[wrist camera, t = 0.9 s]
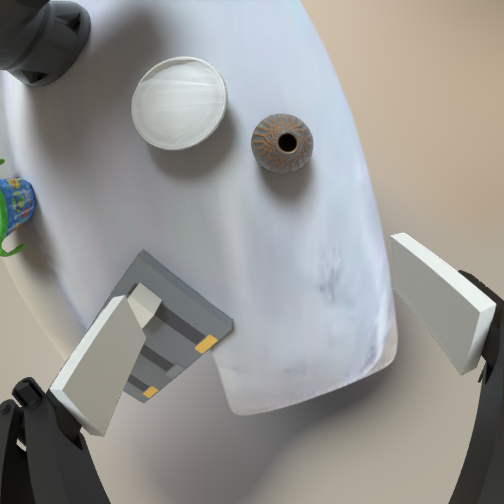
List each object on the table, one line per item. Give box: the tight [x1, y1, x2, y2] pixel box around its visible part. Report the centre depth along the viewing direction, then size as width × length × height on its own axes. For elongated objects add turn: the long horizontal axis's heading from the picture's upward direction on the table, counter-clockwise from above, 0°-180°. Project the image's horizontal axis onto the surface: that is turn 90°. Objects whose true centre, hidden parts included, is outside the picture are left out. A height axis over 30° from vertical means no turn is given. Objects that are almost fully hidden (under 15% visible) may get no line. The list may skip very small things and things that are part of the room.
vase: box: [251, 114, 313, 174], centre depth 29 cm, size 7×7×9 cm
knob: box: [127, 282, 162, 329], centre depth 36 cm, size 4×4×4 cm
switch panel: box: [87, 249, 233, 403], centre depth 43 cm, size 17×28×3 cm, turn 138°
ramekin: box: [131, 56, 228, 150], centre depth 29 cm, size 11×11×5 cm
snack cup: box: [0, 159, 35, 257], centre depth 30 cm, size 16×10×10 cm
